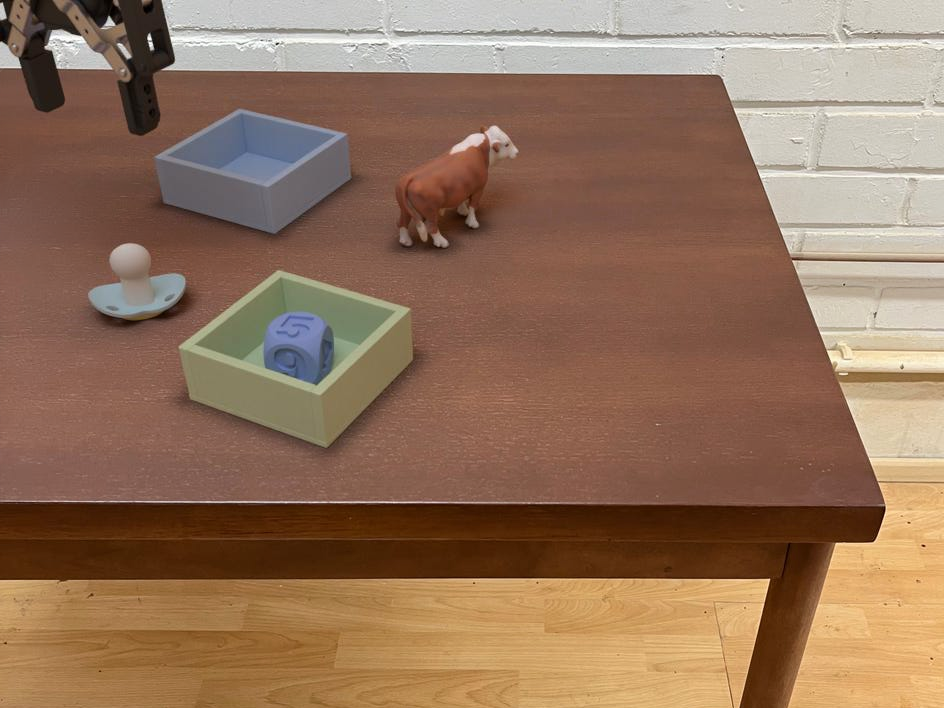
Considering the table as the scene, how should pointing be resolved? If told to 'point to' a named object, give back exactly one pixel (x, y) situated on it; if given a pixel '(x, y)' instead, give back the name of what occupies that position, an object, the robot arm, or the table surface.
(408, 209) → the bull figurine
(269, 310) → the sage bin
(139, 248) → the pacifier
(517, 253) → the table surface
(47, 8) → the robot arm
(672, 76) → the table surface
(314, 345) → the decorative dice
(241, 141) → the bluegrey bin
